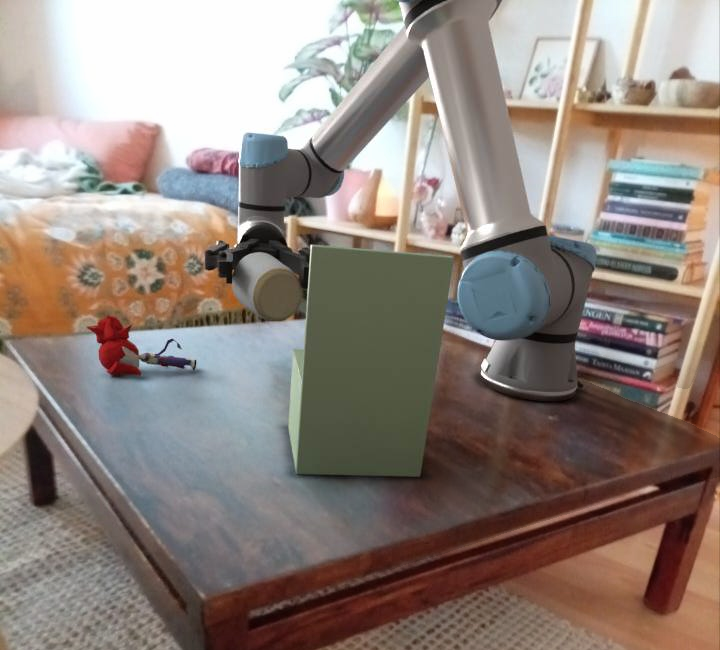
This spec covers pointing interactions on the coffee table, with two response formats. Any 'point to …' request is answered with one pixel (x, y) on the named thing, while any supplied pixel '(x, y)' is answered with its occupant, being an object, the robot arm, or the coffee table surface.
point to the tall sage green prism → (367, 361)
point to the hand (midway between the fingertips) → (268, 275)
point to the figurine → (128, 350)
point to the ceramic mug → (267, 287)
